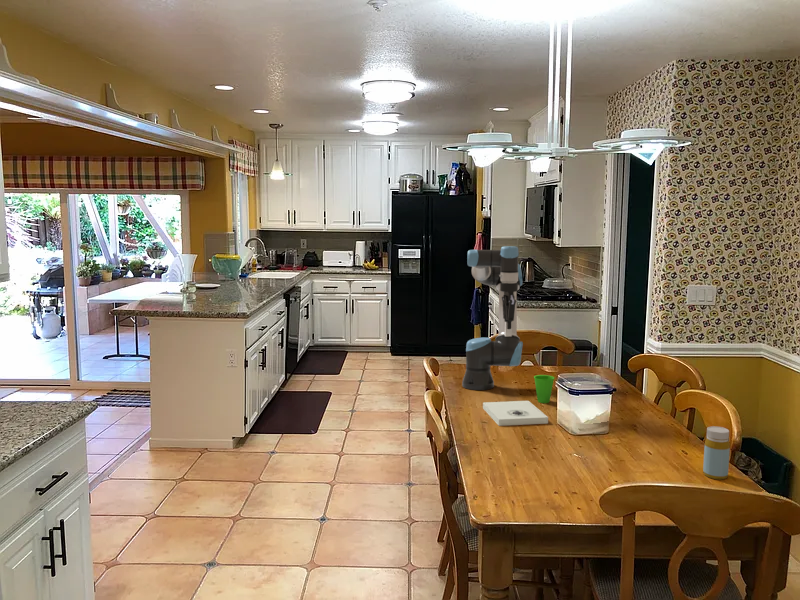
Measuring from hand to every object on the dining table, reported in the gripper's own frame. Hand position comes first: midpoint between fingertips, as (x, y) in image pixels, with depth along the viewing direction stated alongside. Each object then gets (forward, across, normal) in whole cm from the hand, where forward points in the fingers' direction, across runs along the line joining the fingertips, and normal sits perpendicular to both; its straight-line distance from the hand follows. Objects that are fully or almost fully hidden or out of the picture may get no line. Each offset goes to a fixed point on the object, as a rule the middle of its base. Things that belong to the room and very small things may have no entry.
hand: (508, 336), depth 283 cm
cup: (+30, +2, +16) cm, 34 cm away
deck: (+29, +20, -3) cm, 36 cm away
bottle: (+30, +90, +40) cm, 103 cm away
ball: (+28, +24, -3) cm, 37 cm away
